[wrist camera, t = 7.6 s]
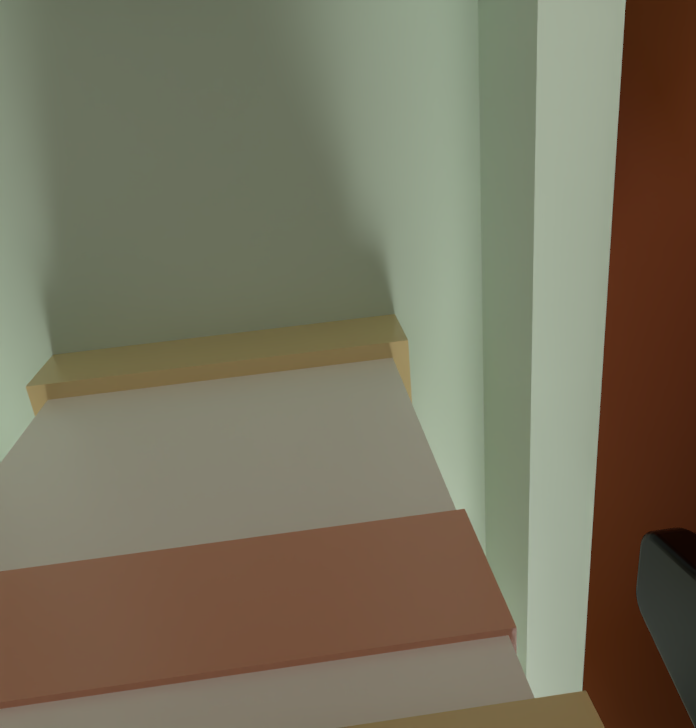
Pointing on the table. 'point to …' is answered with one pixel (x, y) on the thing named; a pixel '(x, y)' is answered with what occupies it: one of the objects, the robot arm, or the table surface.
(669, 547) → the robot arm
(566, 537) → the tray
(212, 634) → the block
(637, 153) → the table surface
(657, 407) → the table surface
